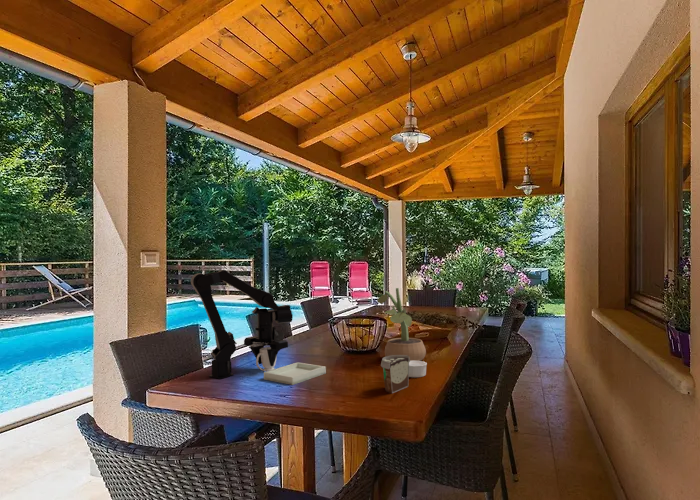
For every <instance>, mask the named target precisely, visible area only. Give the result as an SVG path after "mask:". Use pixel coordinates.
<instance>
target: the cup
mask: <svg viewBox="0 0 700 500" xmlns="http://www.w3.org/2000/svg"><path fill="white" fill-rule="evenodd" d="M270 348H271V347H270V346H266V347H265V346H264V347H263V348H261V349H259V350H260V353H259V354H258V356H257V359H256V358H255V359H256V360H255V364H256V367H257V369H259V370H261V371H263V372H267V371H270V370H273V369H276V367H275V366H276V365H277V357H278V355H277V356H276V359H275V362H274V365H273V366H271V365H270V362H269V357H268V352H267V349H270ZM259 356H261V362H262V364H261V365H262V367H263V368H261V366H260V364H259V363H258V359H259Z"/></svg>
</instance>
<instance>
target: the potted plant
mask: <svg viewBox="0 0 700 500" xmlns="http://www.w3.org/2000/svg"><path fill="white" fill-rule="evenodd" d="M395 294H396V295H395V296H396V298H394V296H393V295H392V294H391V293H390V292H389V291H387V290H385V291H384V294H382V295H381V296H379V297H378V298H377V301H376V302H377V303H378V304H381V305H383V304H384V303H386V302H387V300H388V298H389V299H390V301H391V302H392V304H393V306H391V308H392V309H389V310H386V311H385V312H384V314H387V315H389V316H390V321H391V322H392V323H394V324H400V331H401V333H400V334H401V335H400V337H396V338H390V339H388V340H387V342H386V345H385V346H384V347H385V348H384V356H385V357H387V356H392V355H407V356H409V358H410V361H422V360H423V361H424V359H425V356H426V355H427V350H426V346H425V344H424V342H423V340H422V339H420V338H415V337H409V327H411V325H412V323H413V318H412V317H411V316H410V315H409V314H407V311H406V308H403V305H402V301H401V295H400V289H399V287H395Z"/></svg>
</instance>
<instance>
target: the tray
mask: <svg viewBox="0 0 700 500" xmlns="http://www.w3.org/2000/svg"><path fill="white" fill-rule="evenodd" d="M325 374H327V366H323V365H318V364H310V363H304V362H298V361H297V362H294V363H291V364H288V365H284V366H280V367H278V368H277V367H276V368H275V369H273V370H270V371H263V380H264V381H265V380H266V381H270V382H274V383H280V384H285V385H292V386H294V385H298V384H299V383H302V382H306V381H308V380H311V379H314V378H316V377H319V376H322V375H325Z"/></svg>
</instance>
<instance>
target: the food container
mask: <svg viewBox="0 0 700 500" xmlns="http://www.w3.org/2000/svg"><path fill="white" fill-rule="evenodd" d="M409 362H410V358H409V356H407V355H392V356H387V357H386V356H384V357H382V359H381V363H380V367H381V368H382V371H383V372H382V373H383V382H384V389H385V392H386V393H389V394H394V393H397V392H399V391H401V390H404V389H406V388H408V387H409V378H410V377H409Z"/></svg>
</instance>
